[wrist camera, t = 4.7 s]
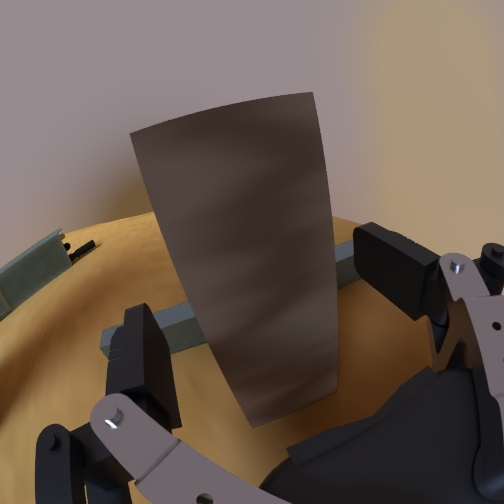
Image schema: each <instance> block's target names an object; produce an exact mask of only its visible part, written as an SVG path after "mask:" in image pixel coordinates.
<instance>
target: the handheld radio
mask: <svg viewBox="0 0 504 504" xmlns="http://www.w3.org/2000/svg"><path fill="white" fill-rule="evenodd" d="M61 230H62V229H61V228H59V229H58V230H56V231H54V232H53V233H51V234H50V235H48V236H47V237H45V238H44V239H42V240H40V241H39V242H38V243H36V244H35V245H33V246H31V247H30V248H29V249H27V250H26V251H24V252H23V253H21V254H20V255H19V256H17V257H16V258H14V259H13V260H12V261H10V262H9V263H8V264H6V265H5V266H4V267H2V268H1V269H0V321H1V320H2V319H3V318H5V317H6V316H7V315H8V314H9V313H11V312H12V311H13V310H14V309H16V308H17V307H18V306H19V305H20V304H22V303H23V302H24V301H26V300H27V299H28V298H29V297H31V296H32V295H33V294H35V293H36V292H37V291H38V290H40V289H41V288H42V287H44V286H45V285H46V284H48V283H49V282H51V281H52V280H53V279H55V278H56V277H57V276H59V275H60V274H62V273H63V272H64V271H66V270H67V269H69V268H70V267H71V266H73V264H72V261H74V260H75V258H77V257H80V256H81V255H83V254H84V253H86V252H87V251H89V250H90V249H92V248H93V247H95V242H94V241H93V240H91V241H89V242H88V243H86V244H85V245H83V246H82V247H80V248H79V249H77V250H76V251H75V252H74V253H72V254H70V255H68V254H67V251H68V250H69V249H70V244H69V243H65V244H63V243H62V241H61V240H63V239H64V238H65V235H64V234H63V233H62V234H61V235H59V234H58V233H59V232H60V231H61Z"/></svg>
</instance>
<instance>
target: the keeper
mask: <svg viewBox="0 0 504 504" xmlns="http://www.w3.org/2000/svg"><path fill="white" fill-rule="evenodd" d="M335 260H336V276H337V289H339V288H341V287H343V286H345V285H347V284H350V283H352V282H354V281H356V280H358V279H360V278H361V277H360V276H359V275H358V273H357V271H356V269H355V266H354V248H353V240H350V241H348V242H345V243H343V244H340V245H338V246H335ZM153 316H154V318H155V319H156V321H157V323H158V325H159V327H160V328H161V330H162V332H163V334H164V336H165V338H166V340H167V343H168V346H169V350H170V354H172V353H175V352H178V351H181V350H184V349H187V348H190V347H193V346H196V345H199V344H202V343H205V342H207V340H206V338H205V336H204V334H203V332H202V329H201V327H200V325H199V323H198V321H197V318H196V316H195V314H194V312H193V309H192V307H191V305H190V303H189V301H188V302H185V303H182V304H179V305H176V306H173V307H170V308H168V309H165V310H162V311H159V312H156V313H153ZM123 325H124V323H123V324H120V325H117V326H114V327H111V328H108V329H105V330H103V331H102V336H101V342H100V349H101V350H102V352H103V353H104V354H105V356H106V357H107V358H109V353H110V342H111V338H112V336H113V334H114V332H115V331H116V329H117V327H120V326H123Z"/></svg>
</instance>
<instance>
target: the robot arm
mask: <svg viewBox="0 0 504 504" xmlns="http://www.w3.org/2000/svg"><path fill="white" fill-rule="evenodd" d="M353 248H354V266H355V269H356V271H357V273H358V275H359V276H360V277H361V278H362V279H364V280H365V281H366V282H367V283H369V284H370V285H371V286H372V287H374V288H375V289H376V290H377V291H379V292H380V293H381V294H382V295H384V296H385V297H386V298H387V299H389V300H390V301H391V302H392V303H393V304H395V305H396V306H397V307H398V308H399V309H401V310H402V311H403V312H404V313H405V314H407V315H408V316H409V317H410V318H411V319H413V320H414V321H417V320H418V319H419V318H421V317H422V316H424V315H425V314H426V315H427V316H428V318H427V329H428V335H429V341H430V348H431V355H432V369H431V368H430V367H429V366H427V367H425V368H424V369H423V370H421V371H420V372H419V373H418V374H416V375H415V376H414V377H412V378H411V379H409V380H408V381H407V382H405V383H404V384H403V385H401V386H400V387H399V388H398V389H397V391H396V392H395V393H394V394H393V395H392V396H391V397H390V398H389V400H388V401H387V402H386V403H385V404H384V405H383V406H382V407H381V408H380V409H379V410H378V411H377V412H376V413H375V414H374V415H373V416H371V417H368V418H365V419H362V420H359V421H356V422H353V423H349V424H346V425H342V426H339V427H335V428H331V429H328V430H326V431H324V432H321V433H319V434H317V435H315V436H313V437H311V438H309V439H307V440H304V441H302V442H300V443H298V444H295V445H293V446H290V447H288V448H286V449H287V452H288V454H289V457H288V458H287V459H286V460H284V461H283V462H281V463H280V464H279V465H278V466H277V467H275V468H274V469H273V470H272V471H271V472H270V473H269V474H268V476H267V477H266V478H265V479H264V481H263V482H262V483H261V485H260V486H259V488H257V487H255V486H253V485H251V484H250V483H248V482H246V481H244V480H242V479H240V478H239V477H237V476H235V475H233V474H232V473H230V472H228V471H227V470H225V469H223V468H222V467H220V466H219V465H217V464H215V463H214V462H212V461H211V460H209V459H208V458H206V457H205V456H203V455H202V454H200V453H199V452H197V451H196V450H194V449H193V448H191V447H190V446H189V445H187V444H186V443H184V442H183V441H181V440H180V439H177V438H176V437H174V436H173V435H172V429H176V428H179V427H182V424H181V418H180V413H179V408H178V402H177V396H176V390H175V384H174V378H173V371H172V364H171V356H170V350H169V346H168V343H167V340H166V338H165V336H164V334H163V332H162V330H161V328H160V327H159V325H158V323H157V321H156V319H155V318H154V316H153V314H152V312H151V310H150V308H149V306H148V305H147V304H146V303H143V304H140V305H137V306H134V307H131V308H128V309H126V310H125V316H124V325H123V326H120V327H117V329H116V331H115V332H114V334H113V336H112V338H111V342H110V353H109V358H108V360H109V362H108V368H107V380H106V394H105V397H104V398H102V399H101V400H99V401H98V402H97V403H96V405H95V406H94V408H93V410H92V412H91V416H90V422H88V423H86V424H85V425H83V426H81V427H79V428H77V429H75V430H73V431H71V432H70V431H68V430H67V429H66V428H65V427H63V426H62V425H60V424H51V425H49V426H47V427H46V428H44V429H43V430H42V432H41V433H40V435H39V437H38V439H37V443H36V457H35V500H36V504H86V496H85V487H84V485H85V486H86V491H87V499H88V504H132V500H131V496H130V491H129V486H128V482H129V481H132V480H134V479H135V480H136V482H135V486H136V488H137V489H138V490H139V491H140V493H141V494H142V495H143V496H144V497H146V498H147V499H148V500H149V501H150V502H151V503H152V504H504V296H503V295H501V293H502V290H503V287H504V246H502V245H499V244H495V243H487V244H485V245H484V246H483V248H482V253H481V257H480V258H478V259H474V260H471V259H470V258H468V257H467V256H465V255H462V254H458V253H448V254H445V255H443V256H442V257H441V256H439V255H437V254H435V253H434V252H432V251H430V250H428V249H427V248H425V247H423V246H421V245H419V244H418V243H415V242H414V241H412V240H410V239H407V237H405V236H403V235H401V234H399V233H397V232H393V231H389V230H387V229H385V228H383V227H381V226H379V225H377V224H375V223H373V222H369V223H367V224H364V225H361V226H359V227H356V228H355V229H354V231H353Z"/></svg>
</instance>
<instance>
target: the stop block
mask: <svg viewBox="0 0 504 504" xmlns="http://www.w3.org/2000/svg"><path fill="white" fill-rule="evenodd" d="M130 137H131V140H132V144H133V147H134V151H135V154H136V158H137V161H138V164H139V168H140V171H141V174H142V177H143V180H144V183H145V186H146V190H147V193H148V196H149V199H150V202H151V204H152V207H153V210H154V213H155V216H156V219H157V222H158V224H159V227H160V230H161V233H162V235H163V238H164V241H165V243H166V246H167V249H168V251H169V254H170V256H171V259H172V261H173V264H174V267H175V269H176V271H177V274H178V276H179V279H180V281H181V284H182V286H183V288H184V291H185V293H186V296H187V298H188V300H189V303H190V305H191V307H192V309H193V312H194V314H195V316H196V318H197V321H198V323H199V325H200V327H201V329H202V332H203V334H204V336H205V338H206V340H207V342H208V344H209V347H210V349H211V351H212V353H213V355H214V357H215V359H216V361H217V363H218V365H219V367H220V369H221V371H222V373H223V375H224V377H225V379H226V381H227V383H228V385H229V387H230V389H231V390H232V392H233V394H234V396H235V398H236V400H237V402H238V404H239V405H240V407H241V409H242V411H243V413H244V414H245V416H246V418H247V420H248V422H249V423H250V425H251V427H252V428H254V427H257V426H260V425H262V424H265V423H267V422H270V421H273V420H275V419H277V418H280V417H282V416H285V415H287V414H289V413H292V412H294V411H296V410H298V409H301V408H303V407H305V406H307V405H309V404H311V403H313V402H316V401H318V400H320V399H322V398H324V397H326V396H328V395H330V394H331V393H333V392H335V391H337V383H338V299H337V276H336V260H335V246H334V234H333V223H332V213H331V204H330V195H329V188H328V179H327V172H326V165H325V158H324V152H323V145H322V139H321V133H320V128H319V122H318V116H317V111H316V107H315V101H314V96H313V92H306V93H297V94H289V95H281V96H275V97H268V98H262V99H256V100H250V101H245V102H241V103H235V104H230V105H226V106H221V107H217V108H212V109H209V110H205V111H200V112H197V113H193V114H189V115H185V116H183V117H178V118H175V119H172V120H168V121H165V122H162V123H159V124H156V125H153V126H150V127H147V128H144V129H141V130H138V131H136V132H133V133H130Z"/></svg>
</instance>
